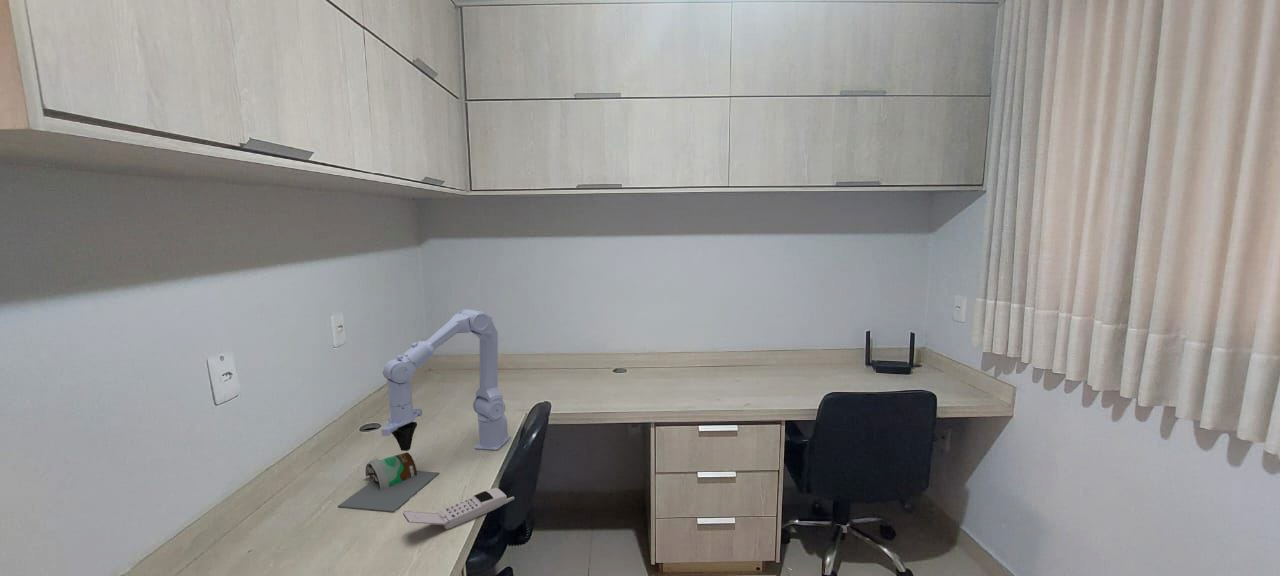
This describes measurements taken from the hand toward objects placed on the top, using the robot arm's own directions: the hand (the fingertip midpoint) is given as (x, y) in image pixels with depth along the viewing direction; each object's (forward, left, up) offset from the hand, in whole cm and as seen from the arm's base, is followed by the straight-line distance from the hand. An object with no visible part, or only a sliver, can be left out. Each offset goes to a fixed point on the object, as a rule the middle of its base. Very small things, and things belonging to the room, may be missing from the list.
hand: (405, 449), depth 139 cm
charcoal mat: (+7, 0, -8) cm, 11 cm away
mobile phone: (+16, +26, -8) cm, 31 cm away
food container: (-3, -1, -4) cm, 6 cm away
